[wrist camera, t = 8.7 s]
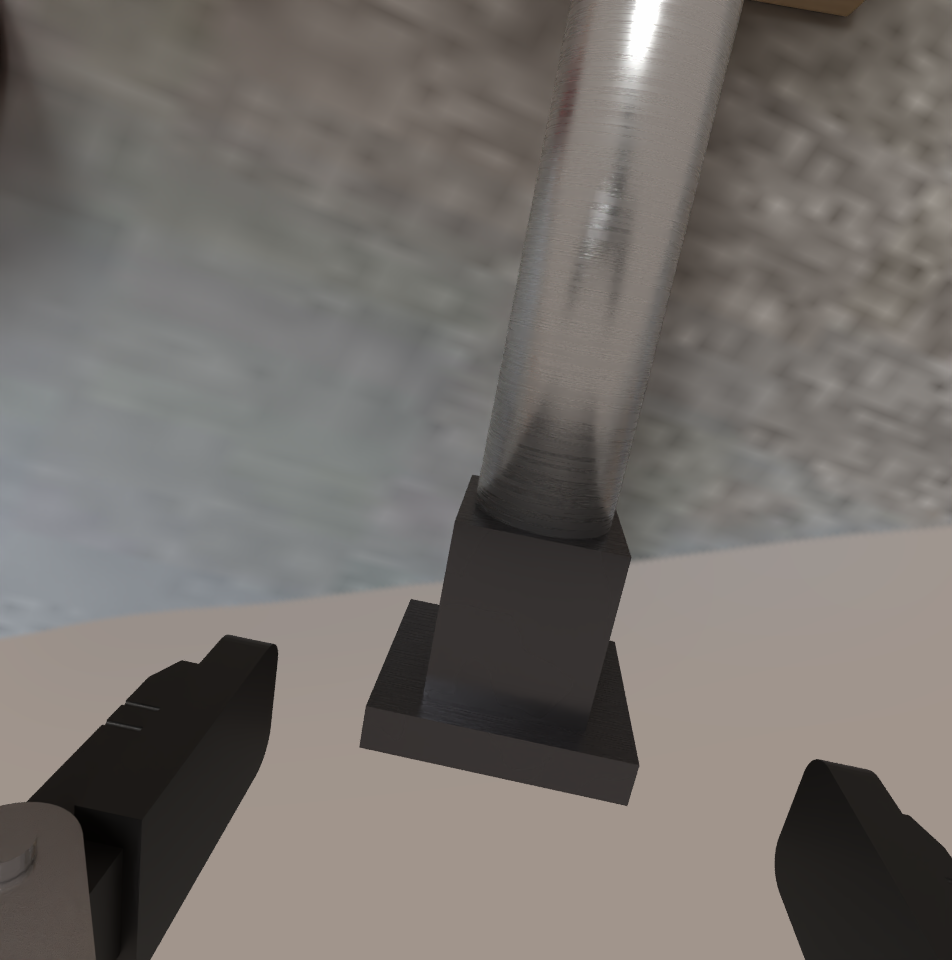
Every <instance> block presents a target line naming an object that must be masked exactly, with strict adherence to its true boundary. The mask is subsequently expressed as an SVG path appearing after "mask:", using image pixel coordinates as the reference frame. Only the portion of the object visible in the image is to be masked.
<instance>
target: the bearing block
mask: <svg viewBox="0 0 952 960" xmlns="http://www.w3.org/2000/svg"><path fill="white" fill-rule="evenodd" d="M753 1H759V2H765V3H770V4H776V5H782V6H788V7H794V8H800V9H805V10H811V11H817V12H823V13H829V14H834V15H840V16H846V17H847V16H848V15H850V14H851V13H852V12H853V11H854V10H855V9H856V8H857V7H859V6H860V5H861V4H862V3H863V2H864V1H865V0H753Z"/></svg>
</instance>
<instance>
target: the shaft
mask: <svg viewBox="0 0 952 960" xmlns="http://www.w3.org/2000/svg"><path fill="white" fill-rule="evenodd" d="M743 3H744V0H571V3H570V8H569V13H568V18H567V23H566V29H565V34H564V39H563V44H562V50H561V55H560V60H559V65H558V70H557V76H556V81H555V86H554V91H553V97H552V102H551V107H550V112H549V117H548V123H547V128H546V133H545V138H544V144H543V149H542V154H541V159H540V165H539V170H538V175H537V180H536V185H535V191H534V196H533V201H532V206H531V212H530V217H529V222H528V227H527V232H526V238H525V243H524V248H523V253H522V259H521V264H520V269H519V274H518V279H517V285H516V290H515V295H514V300H513V306H512V311H511V316H510V321H509V326H508V332H507V337H506V342H505V347H504V353H503V358H502V363H501V368H500V373H499V379H498V384H497V389H496V394H495V400H494V405H493V410H492V415H491V420H490V426H489V431H488V436H487V441H486V447H485V452H484V457H483V462H482V467H481V473H480V476H476V475H472V477H471V480H470V482H469V485H468V488H467V490H466V493H465V496H464V498H463V501H462V504H461V506H460V509H459V512H458V515H457V517H456V520H455V524H454V529H453V534H452V540H451V545H450V551H449V556H448V562H447V567H446V572H445V578H444V583H443V589H442V594H441V600H440V605H437V604H432V603H427V602H423V601H418V600H413V599H411V600H410V602H409V605H408V607H407V610H406V612H405V614H404V617H403V619H402V622H401V624H400V626H399V629H398V631H397V633H396V636H395V638H394V641H393V643H392V645H391V648H390V650H389V653H388V655H387V657H386V660H385V662H384V664H383V667H382V669H381V671H380V674H379V676H378V679H377V681H376V683H375V686H374V689H373V690H372V693H371V695H370V698H369V700H368V702H367V705H366V709H365V715H364V721H363V728H362V734H361V740H360V748H365V749H369V750H374V751H379V752H383V753H388V754H392V755H397V756H402V757H406V758H410V759H415V760H420V761H425V762H429V763H433V764H438V765H443V766H447V767H452V768H456V769H461V770H465V771H470V772H474V773H479V774H484V775H488V776H493V777H498V778H502V779H506V780H511V781H516V782H520V783H525V784H530V785H534V786H538V787H543V788H548V789H552V790H557V791H562V792H566V793H571V794H575V795H580V796H584V797H589V798H594V799H598V800H603V801H607V802H612V803H616V804H621V805H625V806H627V805H628V802H629V798H630V795H631V791H632V788H633V785H634V781H635V778H636V775H637V771H638V768H639V761H638V757H637V751H636V747H635V741H634V736H633V732H632V726H631V721H630V717H629V711H628V706H627V702H626V697H625V691H624V686H623V681H622V676H621V671H620V666H619V661H618V656H617V651H616V646H615V642H613V641H609V640H610V636H611V632H612V628H613V625H614V621H615V617H616V613H617V610H618V606H619V602H620V598H621V595H622V591H623V587H624V583H625V579H626V576H627V572H628V568H629V565H630V561H631V555H630V552H629V549H628V546H627V543H626V540H625V537H624V533H623V530H622V527H621V524H620V521H619V518H618V515H617V512H616V505H617V501H618V497H619V493H620V489H621V485H622V481H623V477H624V473H625V469H626V465H627V461H628V457H629V453H630V449H631V445H632V441H633V437H634V433H635V430H636V426H637V422H638V418H639V414H640V410H641V406H642V402H643V398H644V394H645V390H646V386H647V382H648V378H649V374H650V370H651V366H652V362H653V358H654V355H655V351H656V347H657V343H658V339H659V335H660V331H661V327H662V323H663V319H664V315H665V311H666V307H667V303H668V299H669V295H670V291H671V287H672V283H673V280H674V276H675V272H676V268H677V264H678V260H679V256H680V252H681V248H682V244H683V240H684V236H685V232H686V228H687V224H688V220H689V216H690V212H691V208H692V205H693V201H694V197H695V193H696V189H697V185H698V181H699V177H700V173H701V169H702V165H703V161H704V157H705V153H706V149H707V145H708V141H709V137H710V133H711V130H712V126H713V122H714V118H715V114H716V110H717V106H718V102H719V98H720V94H721V90H722V86H723V82H724V78H725V74H726V70H727V66H728V62H729V58H730V55H731V51H732V47H733V43H734V39H735V35H736V31H737V27H738V23H739V19H740V15H741V11H742V7H743Z"/></svg>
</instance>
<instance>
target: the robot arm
mask: <svg viewBox="0 0 952 960" xmlns="http://www.w3.org/2000/svg"><path fill="white" fill-rule="evenodd" d="M277 661H278V649H277V646H276V645H275V644H271V643H266V642H261V641H256V640H252V639H247V638H242V637H237V636H233V635H225V636H224V637H223V638H222V639H221V640H220V641H219V642H218V643H217V644H216V645H215V647H214V648H213V649H212V650H211V651H210V652H209V653H208V654H207V656H206V657H205V658H204V659H203V660H202V661H201V662H200V663H199V664H197V663H192V662H187V661H183V660H182V661H179V662H177V663H175V664H173V665H171V666H170V667H168V668H166V669H164V670H162V671H160V672H158V673H156V674H154V675H152V676H150V677H149V678H147V679H146V680H145V682H143V683H142V685H141V686H140V687H139V688H138V689H137V690H136V691H135V692H134V693H133V694H132V695H131V696H130V697H129V698H128V699H127V700H126V703H125V705H121V706H120V707H119V708H118V709H117V710H116V711H115V712H114V713H113V714H112V715H111V716H110V717H109V718H108V719H107V722H106V724H105V725H101V727H99V729H97V731H96V732H94V734H93V735H92V736H91V737H90V738H89V739H88V740H87V741H86V742H85V743H84V744H83V745H82V746H81V747H80V748H79V749H78V750H77V751H76V752H75V753H74V754H73V755H72V756H71V757H70V758H69V759H68V760H67V761H66V762H65V763H64V764H63V765H62V766H61V767H60V768H59V769H58V770H57V771H56V772H55V773H54V774H53V775H52V776H51V777H50V778H49V779H48V781H46V782H45V784H44V785H43V786H42V787H41V788H40V789H39V790H38V791H37V792H36V793H35V794H34V795H33V796H32V797H31V798H30V799H29V800H28V801H27V802H21V803H13V804H7V805H2V806H0V960H150V959H151V957H152V956H153V954H154V952H155V951H156V949H157V947H158V945H159V944H160V942H161V940H162V938H163V936H164V935H165V933H166V931H167V929H168V928H169V926H170V924H171V923H172V921H173V919H174V917H175V916H176V914H177V912H178V910H179V909H180V907H181V905H182V903H183V902H184V900H185V898H186V896H187V895H188V893H189V891H190V890H191V888H192V886H193V884H194V883H195V881H196V879H197V877H198V875H199V874H200V872H201V870H202V868H203V867H204V865H205V863H206V862H207V860H208V858H209V856H210V854H211V853H212V851H213V849H214V848H215V846H216V844H217V842H218V841H219V839H220V837H221V835H222V834H223V832H224V830H225V828H226V827H227V824H228V823H229V822H230V820H231V818H232V816H233V814H234V813H235V811H236V809H237V808H238V806H239V804H240V802H241V800H242V799H243V797H244V795H245V794H246V792H247V790H248V788H249V786H250V785H251V783H252V781H253V780H254V778H255V776H256V774H257V772H258V770H259V768H260V765H261V763H262V760H263V758H264V755H265V752H266V748H267V744H268V740H269V735H270V728H271V719H272V710H273V709H272V708H273V700H274V690H275V680H276V671H277ZM775 876H776V881H777V886H778V889H779V892H780V895H781V898H782V900H783V903H784V905H785V908H786V911H787V913H788V916H789V919H790V921H791V924H792V926H793V929H794V932H795V934H796V937H797V940H798V942H799V945H800V947H801V950H802V953H803V955H804V958H805V960H952V858H951V856H950V855H949V854H948V852H947V851H946V849H945V848H944V847H943V846H942V845H941V844H940V843H939V842H938V841H936V839H934V838H933V837H932V836H931V835H930V834H929V833H928V832H927V831H926V830H924V829H923V828H922V827H921V826H920V825H919V824H918V823H917V822H916V821H915V820H914V819H913V818H912V817H910V816H909V815H905V814H902V813H901V811H900V809H899V808H898V806H897V805H896V803H895V802H894V800H893V799H892V797H891V796H890V794H889V793H888V791H887V790H886V788H885V787H884V785H883V784H882V782H881V781H880V780H879V778H878V777H877V775H876V774H875V773H873V772H872V771H870V770H867V769H862V768H857V767H853V766H847V765H843V764H838V763H833V762H828V761H824V760H819V759H816V760H813V761H811V762H810V763H809V764H808V766H807V767H806V769H805V771H804V774H803V777H802V779H801V782H800V784H799V787H798V789H797V792H796V795H795V797H794V800H793V803H792V805H791V808H790V810H789V813H788V816H787V818H786V821H785V823H784V826H783V829H782V831H781V834H780V836H779V839H778V842H777V846H776V852H775Z"/></svg>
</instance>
